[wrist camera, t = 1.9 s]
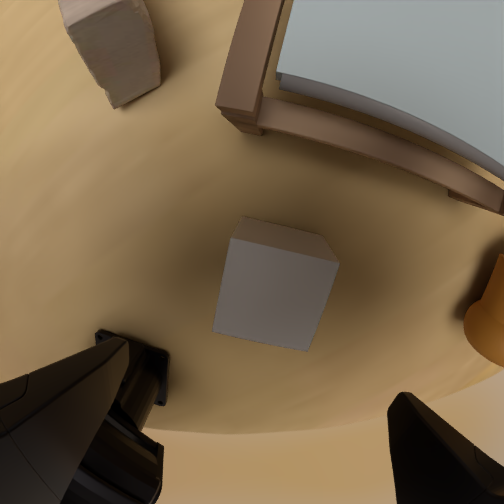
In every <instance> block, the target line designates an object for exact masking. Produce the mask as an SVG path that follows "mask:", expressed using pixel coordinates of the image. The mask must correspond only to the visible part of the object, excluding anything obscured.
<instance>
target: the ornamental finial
mask: <svg viewBox="0 0 504 504" xmlns="http://www.w3.org/2000/svg"><path fill="white" fill-rule="evenodd" d="M464 332H465V335H466V338H467V340H468V341H469V343H470V344H471V345H472V347H473V348H474V349H475V350H476V351H477V352H479V353H480V354H481V355H482V356H484V357H485V358H486V359H488V360H490V361H491V362H493V363H495V364H497V365H499V366H502V367H504V254H502V253H500V254H499V257H498V259H497V262H496V265H495V267H494V270H493V273H492V275H491V278H490V280H489V282H488V285H487V287H486V289H485V292H484V294H483V296H482V298H481V300H478V301H476V302H475V303H473V304H472V305H471V306H470V307H469V309H468V310H467V312H466V314H465V317H464Z"/></svg>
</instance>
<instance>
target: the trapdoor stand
mask: <svg viewBox="0 0 504 504" xmlns="http://www.w3.org/2000/svg"><path fill="white" fill-rule="evenodd" d="M284 1H285V0H244V3H243V7H242V10H241V13H240V16H239V19H238V22H237V26H236V29H235V32H234V36H233V39H232V43H231V46H230V50H229V53H228V57H227V61H226V64H225V68H224V72H223V75H222V79H221V83H220V87H219V91H218V95H217V99H216V103H215V106H216V107H217V108H219V109H220V110H221V114H222V115H223V116H224V117H225V118H226V119H227V120H228V121H230V122H231V123H232V124H233V125H234V126H235V127H236V128H237V129H239V130H240V131H241V132H245V133H250V134H255V135H259V136H262V132H263V129H268V130H272V131H277V132H281V133H285V134H289V135H294V136H297V137H301V138H305V139H309V140H313V141H316V142H320V143H324V144H327V145H331V146H334V147H337V148H341V149H344V150H347V151H350V152H353V153H357V154H360V155H363V156H366V157H369V158H372V159H374V160H377V161H380V162H383V163H386V164H389V165H391V166H394V167H397V168H399V169H402V170H404V171H407V172H410V173H412V174H415V175H417V176H420V177H422V178H424V179H427V180H429V181H432V182H434V183H436V184H439V185H441V186H443V187H445V188H448V189H450V190H449V194H448V196H449V197H452V198H454V199H456V200H458V201H461V202H464V203H467V204H470V205H473V206H476V207H479V208H482V209H485V210H488V211H491V212H494V213H497V214H499V215H502V216H504V190H503V189H501V188H500V187H498V186H496V185H495V184H493V183H491V182H490V181H488V180H486V179H485V178H483V177H481V176H479V175H478V174H476V173H474V172H472V171H470V170H468V169H467V168H465V167H463V166H461V165H459V164H457V163H455V162H453V161H451V160H449V159H447V158H445V157H443V156H441V155H439V154H437V153H435V152H433V151H430V150H428V149H426V148H424V147H421V146H419V145H417V144H415V143H412V142H410V141H408V140H405V139H403V138H400V137H398V136H395V135H393V134H390V133H388V132H385V131H382V130H380V129H377V128H374V127H371V126H369V125H366V124H363V123H360V122H357V121H354V120H351V119H348V118H345V117H342V116H338V115H335V114H332V113H328V112H325V111H321V110H318V109H314V108H310V107H307V106H303V105H299V104H295V103H291V102H286V101H282V100H278V99H273V98H268V97H263V92H262V87H263V83H264V79H265V74H266V70H267V66H268V62H269V58H270V55H271V51H272V47H273V43H274V39H275V35H276V31H277V27H278V24H279V20H280V16H281V12H282V9H283V5H284Z"/></svg>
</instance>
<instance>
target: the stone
mask: <svg viewBox="0 0 504 504" xmlns="http://www.w3.org/2000/svg"><path fill="white" fill-rule="evenodd" d="M339 265H340V262H339V261H338V259H337V258H336V256H335V254H334V253H333V251H332V250H331V248H330V246H329V245H328V243H327V242H326V240H325V239H324V237H323V236H322V235H318V234H314V233H310V232H306V231H302V230H298V229H294V228H290V227H286V226H282V225H278V224H273V223H269V222H265V221H261V220H256V219H252V218H248V217H243V216H242V217H241V219H240V221H239V222H238V224H237V226H236V228H235V230H234V232H233V234H232V236H231V238H230V243H229V248H228V252H227V257H226V262H225V267H224V272H223V277H222V282H221V287H220V292H219V297H218V302H217V307H216V313H215V318H214V323H213V328H212V332H215V333H220V334H224V335H228V336H232V337H237V338H241V339H246V340H250V341H255V342H259V343H264V344H269V345H274V346H279V347H284V348H290V349H295V350H301V351H307V352H308V349H309V347H310V344H311V342H312V339H313V337H314V334H315V332H316V329H317V326H318V324H319V321H320V319H321V316H322V313H323V311H324V308H325V305H326V302H327V300H328V297H329V294H330V291H331V288H332V286H333V283H334V280H335V277H336V274H337V271H338V268H339Z"/></svg>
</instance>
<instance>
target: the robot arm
mask: <svg viewBox="0 0 504 504" xmlns="http://www.w3.org/2000/svg"><path fill="white" fill-rule="evenodd" d="M100 335H101V336H102V337H101V336H100ZM95 340H96V345H95V346H93V347H91V348H88V349H86V350H84V351H81V352H79V353H76V354H74V355H72V356H69V357H67V358H65V359H62V360H60V361H57V362H55V363H52V364H50V365H48V366H45V367H43V368H40V369H38V370H35V371H33V372H30V373H29V374H25V375H23V376H20V377H18V378H15V379H12V380H9V381H7V382H4V383H0V504H155V503H156V501H157V500H158V497H159V496H160V493H161V489H162V477H163V476H162V475H163V456H164V446H163V445H161V444H159V443H158V442H157V443H156V442H155V441H153V440H152V439H150V438H149V437H148V436H146V435H145V434H143V433H142V432H141V431H142V429H143V426H144V424H145V422H146V420H147V417H148V415H149V413H150V411H151V408H152V406H153V404H156V405H159V406H165V405H166V402H167V389H168V373H169V359H170V357H169V354H168V353H167V352H165V351H163V350H160V349H156V348H153V347H150V346H147V345H144V344H141V343H138V342H135V341H132V340H129V339H126V338H123V337H120V336H117V335H114V334H112V333H109V332H106V331H103V330H98V331H97V332H96V333H95ZM161 356H163V357H164V358H163V357H161ZM387 418H388V432H389V447H390V454H391V462H392V468H393V475H394V483H395V491H396V500H397V504H504V467H503V466H502V465H500V464H499V463H497V462H496V461H495V460H493V459H492V458H490V457H489V456H488V455H486V454H485V453H484V452H483V451H481V450H480V449H479V448H478V447H476V446H474V444H473V443H471V442H470V441H469V440H468V439H466V438H465V437H464V436H463V435H462V434H460V433H459V432H458V431H457V430H456V429H454V428H453V427H452V426H451V425H449V424H448V423H447V422H446V421H445V420H443V419H442V418H441V417H440V416H438V415H437V414H436V413H435V412H434V411H433V410H431V409H430V408H429V407H428V406H426V405H425V404H424V403H423V402H422V401H420V400H419V399H418V398H417V397H416V396H414V395H413V394H412V393H410V392H400V393H399V394H398V395H397V396H396V398H395V399H394V401H393V402H392V404H391V405H390V406H389V408H388V411H387Z"/></svg>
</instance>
